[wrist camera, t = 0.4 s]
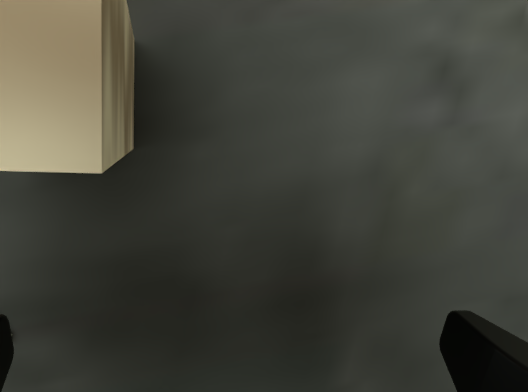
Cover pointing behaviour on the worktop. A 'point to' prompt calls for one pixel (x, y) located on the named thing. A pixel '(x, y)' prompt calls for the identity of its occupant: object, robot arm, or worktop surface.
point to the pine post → (65, 85)
